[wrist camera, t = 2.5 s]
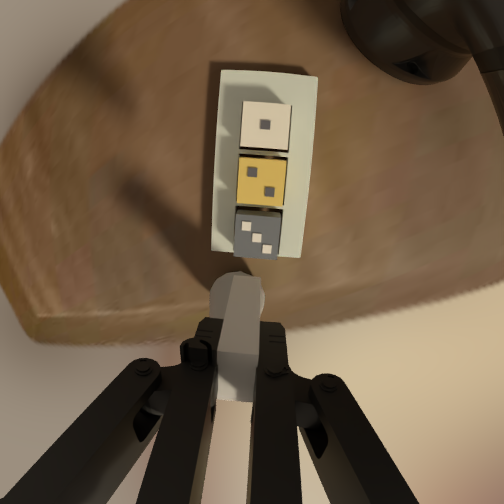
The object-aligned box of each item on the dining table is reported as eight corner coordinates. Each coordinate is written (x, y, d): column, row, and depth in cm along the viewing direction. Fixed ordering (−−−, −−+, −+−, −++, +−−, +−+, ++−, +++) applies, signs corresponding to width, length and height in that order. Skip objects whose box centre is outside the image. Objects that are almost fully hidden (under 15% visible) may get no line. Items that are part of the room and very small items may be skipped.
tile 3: (238, 209, 28) (235, 214, 26) (280, 212, 28) (281, 218, 26) (235, 248, 29) (233, 256, 27) (276, 252, 29) (276, 260, 27)
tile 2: (241, 156, 26) (239, 157, 24) (285, 160, 26) (286, 161, 24) (238, 199, 27) (236, 203, 25) (281, 202, 27) (282, 207, 25)
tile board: (223, 73, 25) (221, 69, 23) (315, 80, 24) (317, 77, 23) (213, 245, 31) (211, 250, 30) (298, 252, 31) (300, 257, 29)
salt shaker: (207, 300, 33) (180, 380, 21) (220, 257, 31) (193, 326, 19) (256, 315, 34) (250, 399, 22) (272, 273, 32) (274, 350, 20)
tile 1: (245, 104, 24) (243, 101, 22) (289, 107, 24) (291, 104, 22) (242, 146, 26) (240, 146, 24) (285, 149, 25) (287, 149, 23)
